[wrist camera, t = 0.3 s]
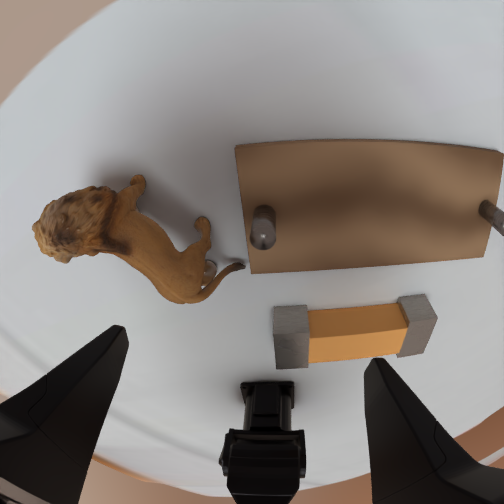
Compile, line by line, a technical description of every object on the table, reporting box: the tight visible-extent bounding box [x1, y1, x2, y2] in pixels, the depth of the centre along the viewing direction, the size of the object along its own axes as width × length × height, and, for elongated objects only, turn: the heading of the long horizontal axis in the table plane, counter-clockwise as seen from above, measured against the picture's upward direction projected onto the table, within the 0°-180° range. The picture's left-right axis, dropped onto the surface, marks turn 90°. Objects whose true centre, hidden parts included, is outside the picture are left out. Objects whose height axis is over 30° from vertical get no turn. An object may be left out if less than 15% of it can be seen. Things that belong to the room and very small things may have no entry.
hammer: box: [273, 294, 438, 369], centre depth 25 cm, size 5×15×4 cm, turn 96°
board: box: [235, 139, 504, 274], centre depth 19 cm, size 10×22×4 cm, turn 96°
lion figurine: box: [32, 175, 246, 304], centre depth 19 cm, size 15×5×9 cm, turn 60°
